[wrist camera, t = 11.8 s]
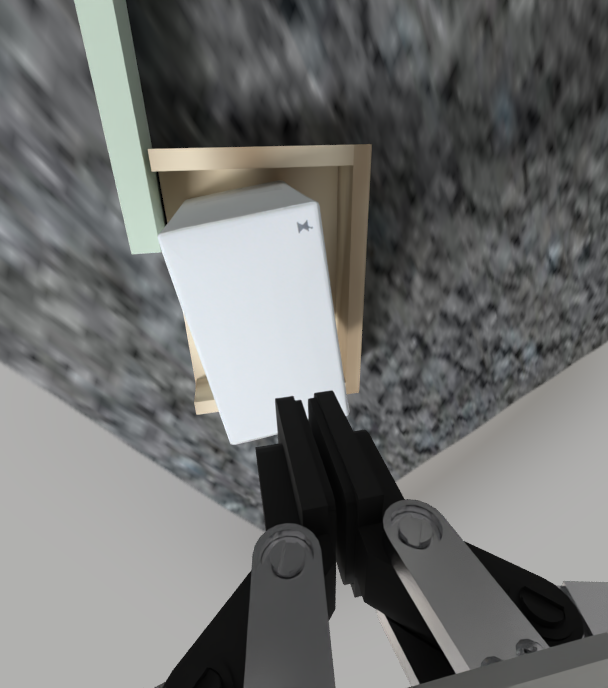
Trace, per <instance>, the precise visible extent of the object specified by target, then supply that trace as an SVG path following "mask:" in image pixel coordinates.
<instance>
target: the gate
mask: <svg viewBox="0 0 608 688" xmlns="http://www.w3.org/2000/svg"><path fill="white" fill-rule="evenodd" d="M74 2H75V6H76V10H77V15H78V19H79V24H80V28H81V32H82V37H83V41H84V46H85V50H86V55H87V59H88V63H89V68H90V72H91V77H92V81H93V85H94V90H95V94H96V99H97V103H98V108H99V112H100V116H101V121H102V125H103V130H104V134H105V138H106V143H107V147H108V152H109V156H110V161H111V165H112V169H113V174H114V178H115V183H116V187H117V191H118V196H119V200H120V205H121V209H122V213H123V218H124V222H125V227H126V231H127V236H128V240H129V244H130V249H131V253H132V254H142V253H157V252H161V251H162V250H161V248H160V244H159V241H158V238H157V236H158V235H159V233H160V232H161V231H162V230H163V229H164V227H165V226H166V223H165V217H164V211H163V206H162V200H161V195H160V189H159V184H158V178H157V172H156V171H155V172H152V171H151V165H150V160H149V154H148V149H152V145H151V139H150V133H149V128H148V122H147V117H146V111H145V106H144V100H143V94H142V89H141V83H140V78H139V72H138V67H137V61H136V56H135V50H134V44H133V39H132V33H131V28H130V22H129V17H128V11H127V5H126V0H74Z"/></svg>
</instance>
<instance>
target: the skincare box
mask: <svg viewBox="0 0 608 688" xmlns="http://www.w3.org/2000/svg"><path fill="white" fill-rule="evenodd" d="M157 238H158V241H159V244H160V248H161V250H162V253H163V256H164V259H165V262H166V264H167V267H168V270H169V273H170V276H171V279H172V281H173V284H174V287H175V290H176V293H177V296H178V299H179V301H180V304H181V307H182V310H183V313H184V315H185V318H186V321H187V323H188V326H189V329H190V332H191V334H192V337H193V340H194V343H195V346H196V349H197V352H198V354H199V357H200V360H201V363H202V366H203V368H204V371H205V374H206V377H207V380H208V382H209V385H210V388H211V391H212V393H213V396H214V399H215V402H216V405H217V408H218V410H219V413H220V416H221V419H222V421H223V424H224V427H225V430H226V432H227V435H228V438H229V441H230V443H231V444H233V445H235V444H240V443H244V442H248V441H253V440H257V439H260V438H264V437H268V436H272V435H276V434H278V432H277V420H276V408H275V398H282V397H289V396H294V399H295V400H301V401H302V403H303V406H304V409H305V412H306V415H307V418H308V399H309V398H314V393H317V392H324V391H331V390H332V391H333V392H334V393H335V395H336V397H337V399H338V402H339V404H340V406H341V408H342V410H343V412H344V414H345V416H347V415H348V414H349V412H350V410H349V405H348V400H347V394H346V388H345V381H344V375H343V368H342V361H341V354H340V348H339V341H338V335H337V328H336V321H335V314H334V307H333V300H332V293H331V286H330V279H329V272H328V264H327V257H326V250H325V242H324V235H323V228H322V221H321V213H320V206H319V203H318V202H317V201H315V200H313V199H311V198H309V197H307V196H306V195H304V194H302V193H300V192H299V191H297V190H295V189H294V188H292V187H291V186H289V185H288V184H287V183H285V182H284V181H282V180H278V181H273V182H268V183H263V184H258V185H253V186H248V187H243V188H238V189H233V190H228V191H223V192H218V193H214V194H209V195H204V196H200V197H195V198H190V199H187V200H185V201H184V202H183V204H182V205H181V206H180V208H179V209H178V210H177V212H176V213H175V214H174V216H173V217H172V219H171V220H170V221H169V222H168V224H167V225H166V226H165V227H164V229H163V230H162V231H161V232H160V233H159V235H158V236H157Z"/></svg>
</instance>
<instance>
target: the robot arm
mask: <svg viewBox="0 0 608 688" xmlns="http://www.w3.org/2000/svg"><path fill="white" fill-rule="evenodd" d="M275 408H276V420H277V432H278V444H274V445H267V446H261V447H255V448H256V457H257V465H258V473H259V482H260V490H261V498H262V505H263V513H264V521H265V529H266V532H265V533H264V534H263V535H262V536H261V537H260V538H259V540H258V541H257V543H256V545H255V547H254V552H253V557H252V570H251V572H250V573H249V574H248V575H247V577H246V578H245V579H244V581H243V582H242V583H241V584H240V586H239V587H238V588H237V589H236V591H235V592H234V593H233V594H232V596H231V597H230V598H229V600H228V601H227V602H226V603H225V605H224V606H223V607H222V608H221V610H220V611H219V612H218V614H217V615H216V616H215V617H214V619H213V620H212V621H211V623H210V624H209V625H208V626H207V628H206V629H205V630H204V631H203V633H202V634H201V635H200V636H199V638H198V639H197V640H196V642H195V643H194V644H193V645H192V647H191V648H190V649H189V650H188V652H187V653H186V654H185V656H184V657H183V658H182V659H181V661H180V662H179V663H178V664H177V666H176V667H175V668H174V670H173V671H172V673H171V674H170V676H169V677H168V679H167V680H166V682H164V683H162V684H160V685H158V686H157V687H155V688H335V679H334V669H333V659H332V650H331V640H330V632H329V631H330V630H329V620H330V618H331V616H332V614H333V612H334V610H335V593H336V591H335V590H336V589H335V588H336V562H337V565H338V569H339V572H340V576H341V579H342V582H343V584H344V585H346V584H351V587H352V590H353V593H354V597H359V596H362V597H363V600H364V602H365V603H367V604H368V605H370V606H372V607H373V608H375V609H376V613H377V616H378V619H379V621H380V623H381V625H382V627H383V629H384V631H385V633H386V635H387V637H388V639H389V642H390V644H391V646H392V648H393V650H394V652H395V654H396V656H397V658H398V660H399V662H400V664H401V666H402V668H403V670H404V672H405V674H406V676H407V678H408V680H409V682H410V684H411V687H409V688H608V582H575V581H563V583H562V585H561V586H556V585H554V584H553V583H551V582H549V581H547V580H546V579H544V578H542V577H540V576H538V575H536V574H534V573H531V572H529V571H527V570H525V569H523V568H521V567H519V566H516V565H514V564H512V563H510V562H508V561H506V560H504V559H501V558H499V557H497V556H495V555H493V554H491V553H489V552H486V551H484V550H482V549H480V548H478V547H475V546H474V545H471V544H469V543H467V542H465V541H463V540H462V539H461V537H460V536H459V535H458V534H457V532H456V531H455V530H454V529H453V527H452V526H451V525H450V524H449V522H448V521H447V520H446V519H445V518H444V516H443V515H441V513H440V512H439V511H438V510H437V509H435V508H433V507H432V506H430V505H429V504H427V503H424V502H421V501H418V500H408V499H407V500H405V499H404V498H403V496H402V494H401V492H400V490H399V488H398V486H397V485H396V483H395V481H394V479H393V477H392V475H391V473H390V472H389V470H388V468H387V466H386V464H385V462H384V460H383V459H382V457H381V455H380V453H379V451H378V449H377V448H376V446H375V444H374V442H373V440H372V438H371V436H370V435H369V433H368V432H367V431H366V430H359V431H353V430H352V428H351V426H350V424H349V422H348V420H347V418H346V416H345V414H344V412H343V410H342V408H341V406H340V404H339V402H338V399H337V397H336V395H335V393H334V392H333V391H332V390H331V391H324V392H317V393H314V398H309V399H308V418H307V415H306V412H305V409H304V406H303V403H302V401H301V400H295V399H294V396H289V397H282V398H275Z"/></svg>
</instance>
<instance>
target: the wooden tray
mask: <svg viewBox="0 0 608 688" xmlns="http://www.w3.org/2000/svg"><path fill="white" fill-rule="evenodd" d="M371 150H372V144H357V145H311V146H265V147H219V148H174V149H148V154H149V160H150V165H151V171H152V172H155V171H158V173H159V179H160V184H161V190H162V196H163V201H164V207H165V213H166V218H167V224H168V222H169V221H170V220H171V219H172V217H173V216H174V214H175V213H176V212H177V210H178V209H179V208H180V206H181V205H182V204H183V202H184V201H185V200H187V199H190V198H195V197H200V196H204V195H209V194H214V193H218V192H223V191H228V190H233V189H238V188H243V187H248V186H253V185H258V184H263V183H268V182H273V181H278V180H282V181H284V182H285V183H287V184H288V185H289V186H291V187H292V188H294V189H295V190H297V191H299V192H300V193H302V194H304V195H306V196H307V197H309V198H311V199H313V200H315V201H317V202H318V203H319V206H320V213H321V221H322V228H323V235H324V242H325V250H326V257H327V264H328V272H329V279H330V286H331V293H332V300H333V307H334V314H335V321H336V328H337V335H338V341H339V348H340V354H341V361H342V368H343V375H344V381H345V388H346V394H351V393H359V381H360V362H361V343H362V324H363V304H364V285H365V266H366V246H367V227H368V208H369V189H370V169H371ZM183 314H184V313H183ZM184 320H185V325H186V331H187V336H188V342H189V348H190V353H191V359H192V365H193V370H194V376H195V382H196V390H195V401H194V403H195V409H196V414H197V415H198V414H205V413H212V412H219V410H218V408H217V405H216V402H215V399H214V396H213V393H212V391H211V388H210V385H209V382H208V380H207V377H206V374H205V371H204V368H203V366H202V363H201V360H200V357H199V354H198V352H197V349H196V346H195V343H194V340H193V337H192V334H191V332H190V329H189V326H188V323H187V321H186V318H185V315H184Z"/></svg>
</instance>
